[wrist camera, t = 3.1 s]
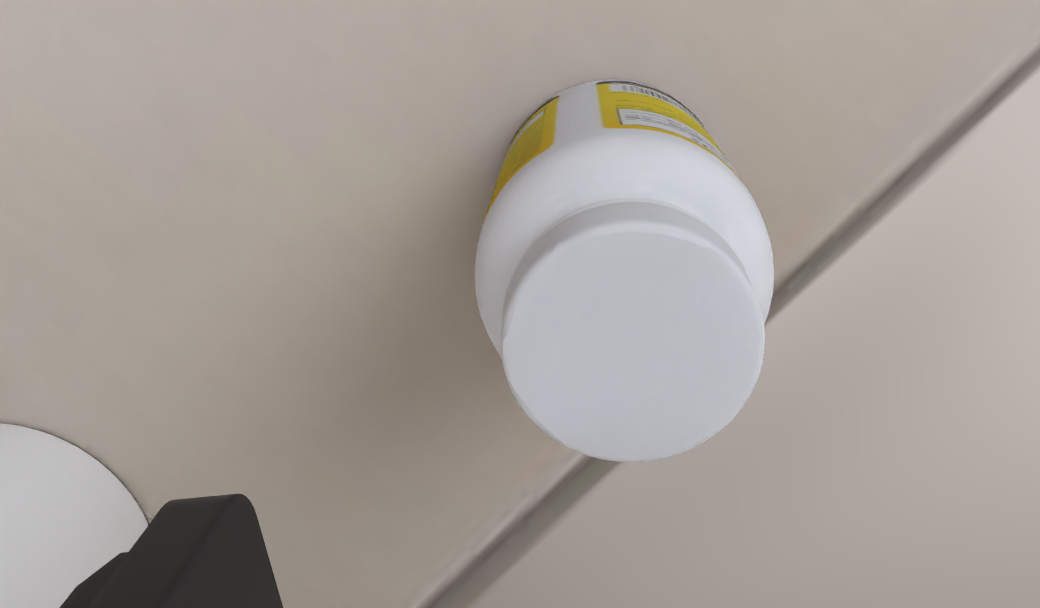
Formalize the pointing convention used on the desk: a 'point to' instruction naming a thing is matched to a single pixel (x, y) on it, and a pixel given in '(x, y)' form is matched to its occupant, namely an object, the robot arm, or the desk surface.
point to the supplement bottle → (624, 274)
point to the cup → (57, 518)
